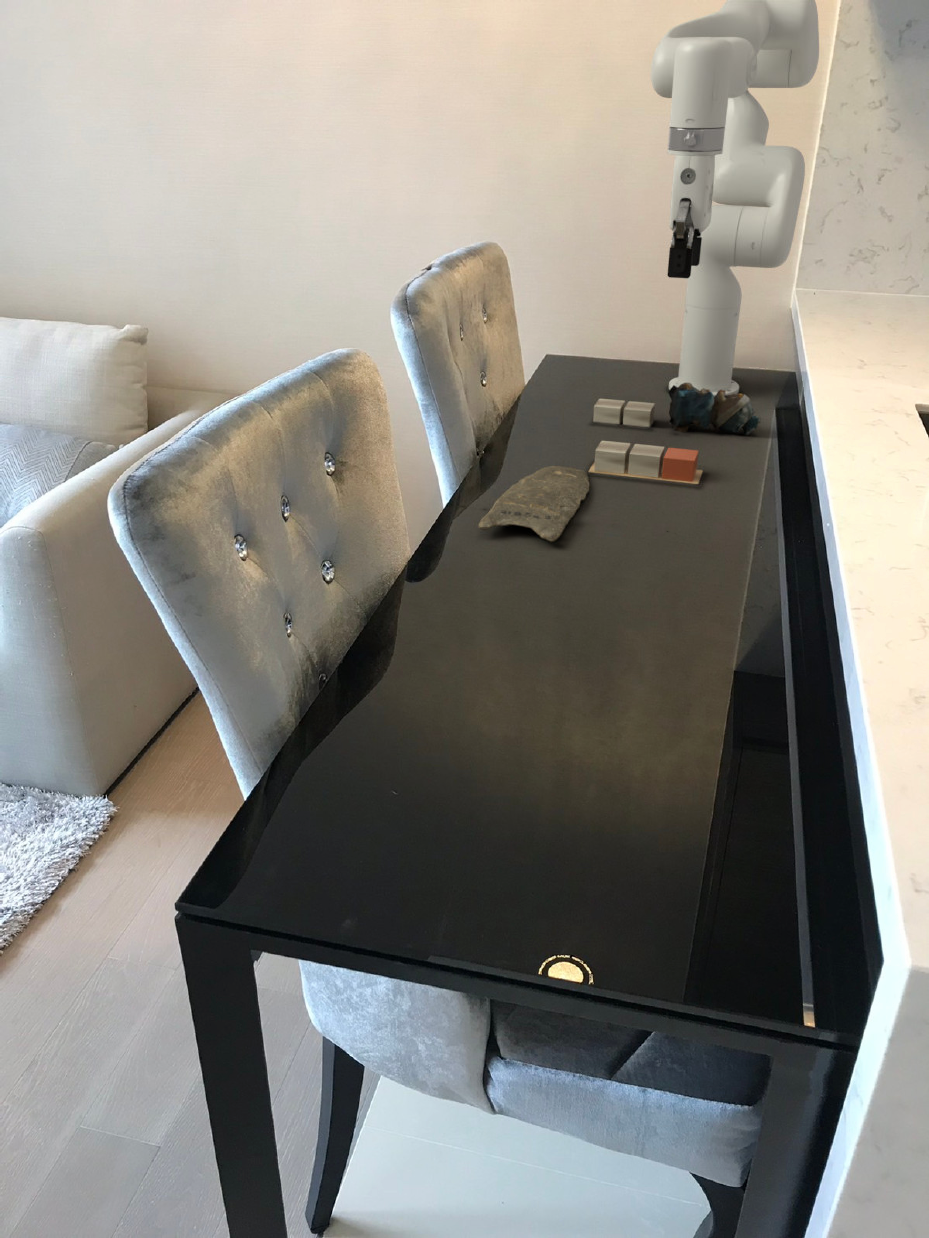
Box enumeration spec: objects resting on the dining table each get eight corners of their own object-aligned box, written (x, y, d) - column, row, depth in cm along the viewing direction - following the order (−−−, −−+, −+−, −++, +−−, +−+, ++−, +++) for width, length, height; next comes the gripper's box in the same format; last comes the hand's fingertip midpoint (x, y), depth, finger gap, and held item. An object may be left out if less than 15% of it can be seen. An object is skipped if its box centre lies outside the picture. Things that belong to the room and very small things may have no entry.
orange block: (666, 468, 148) (668, 447, 146) (696, 471, 147) (698, 450, 145) (661, 478, 144) (663, 457, 143) (692, 481, 143) (694, 460, 141)
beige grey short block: (598, 416, 171) (599, 398, 169) (624, 419, 170) (625, 400, 168) (593, 424, 167) (594, 406, 166) (619, 427, 166) (620, 408, 164)
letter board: (595, 462, 152) (596, 458, 152) (702, 474, 147) (703, 470, 147) (587, 475, 147) (588, 471, 147) (697, 487, 143) (698, 483, 142)
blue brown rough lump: (675, 382, 167) (767, 382, 161) (672, 433, 169) (763, 434, 163) (661, 382, 160) (756, 382, 153) (658, 434, 162) (753, 436, 155)
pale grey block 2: (627, 419, 169) (628, 401, 168) (653, 421, 168) (655, 403, 167) (622, 427, 166) (623, 408, 164) (649, 430, 165) (650, 411, 163)
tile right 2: (633, 464, 149) (634, 443, 148) (662, 467, 148) (664, 446, 147) (627, 474, 146) (629, 453, 144) (658, 477, 145) (660, 456, 143)
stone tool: (558, 550, 125) (601, 480, 146) (558, 529, 124) (602, 461, 144) (475, 539, 128) (529, 472, 149) (475, 518, 127) (529, 454, 147)
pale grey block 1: (600, 460, 151) (601, 440, 149) (629, 463, 150) (630, 443, 148) (594, 470, 147) (595, 450, 146) (623, 474, 146) (625, 453, 144)
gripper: (716, 147, 130) (702, 284, 138) (729, 138, 144) (716, 262, 152) (658, 147, 132) (647, 281, 140) (677, 137, 146) (666, 259, 154)
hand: (683, 271), depth 146 cm, fingers open, 9 cm apart
